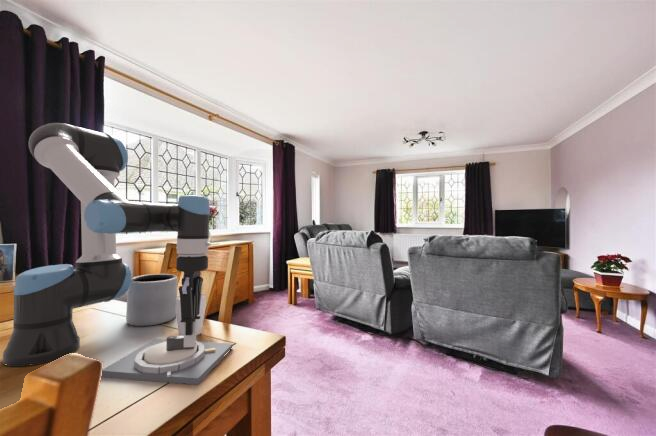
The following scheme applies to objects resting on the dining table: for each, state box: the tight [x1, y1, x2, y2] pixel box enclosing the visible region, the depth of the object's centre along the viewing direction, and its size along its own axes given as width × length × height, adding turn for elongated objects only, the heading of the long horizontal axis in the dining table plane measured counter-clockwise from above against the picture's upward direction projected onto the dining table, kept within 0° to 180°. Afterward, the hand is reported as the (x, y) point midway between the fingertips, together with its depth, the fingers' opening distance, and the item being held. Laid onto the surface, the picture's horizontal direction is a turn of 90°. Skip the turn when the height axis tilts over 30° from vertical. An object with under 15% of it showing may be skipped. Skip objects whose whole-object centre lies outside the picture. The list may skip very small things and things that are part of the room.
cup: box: [175, 293, 207, 336], centre depth 97 cm, size 9×9×12 cm
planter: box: [125, 273, 178, 327], centre depth 109 cm, size 16×16×16 cm
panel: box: [101, 338, 234, 386], centre depth 78 cm, size 24×20×3 cm
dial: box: [144, 335, 197, 365], centre depth 77 cm, size 12×12×5 cm
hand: (189, 346), depth 77 cm, fingers closed
